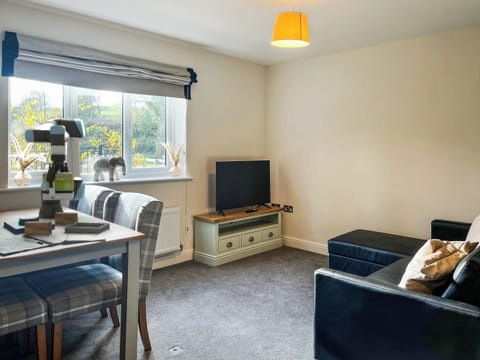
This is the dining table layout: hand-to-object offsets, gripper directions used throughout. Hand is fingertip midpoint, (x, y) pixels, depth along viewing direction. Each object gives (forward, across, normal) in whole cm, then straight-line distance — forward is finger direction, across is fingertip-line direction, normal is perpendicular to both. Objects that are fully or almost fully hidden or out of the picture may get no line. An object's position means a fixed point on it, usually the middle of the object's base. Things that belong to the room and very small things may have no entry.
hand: (59, 192), depth 215 cm
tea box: (+4, 0, 0) cm, 4 cm away
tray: (+21, -1, +16) cm, 26 cm away
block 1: (+21, +14, -4) cm, 25 cm away
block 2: (+21, -14, -4) cm, 26 cm away
